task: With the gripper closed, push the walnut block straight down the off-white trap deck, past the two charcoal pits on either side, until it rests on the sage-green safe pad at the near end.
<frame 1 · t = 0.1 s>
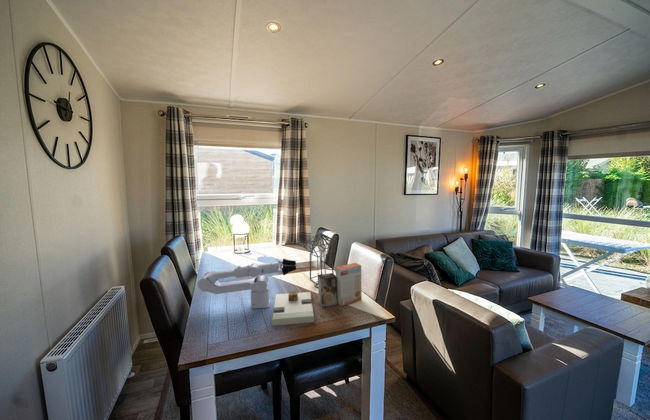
hand: (296, 265, 135), 22 cm above the table, tool horizontal, fingers open, 7 cm apart
trap deck: (293, 308, 131), on the table
coffee box: (327, 303, 136), on the table
cracker box: (348, 301, 138), on the table
geometric lantern: (321, 285, 159), on the table
walnut block: (293, 298, 137), point 2 cm above the table, touching trap deck
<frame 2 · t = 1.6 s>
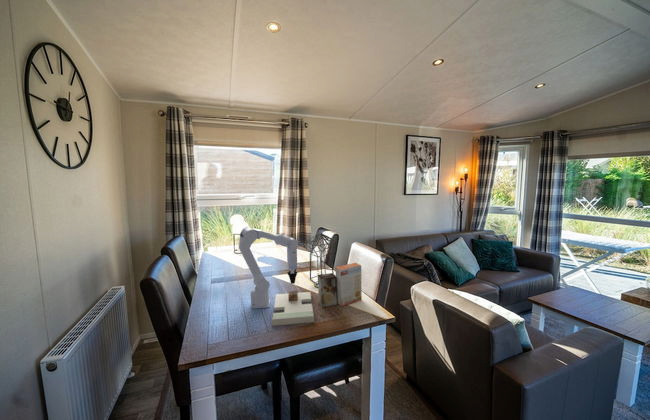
hand: (292, 280, 144), 9 cm above the table, tool pointing down, fingers open, 7 cm apart
nothing on the table moved.
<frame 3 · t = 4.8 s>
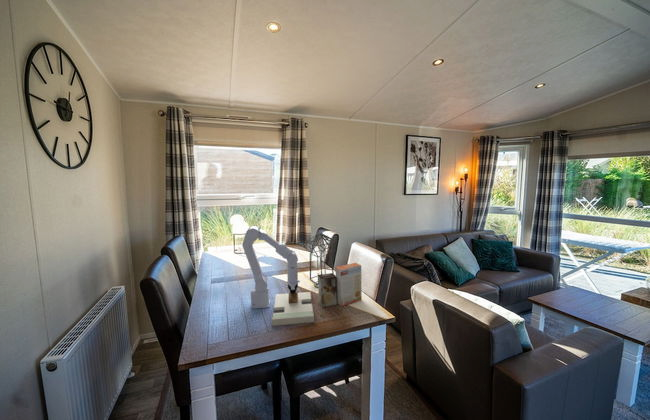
hand: (293, 296, 139), 3 cm above the table, tool pointing down, fingers closed
walnut block: (293, 300, 135), point 2 cm above the table, touching gripper, trap deck
everything else where it was.
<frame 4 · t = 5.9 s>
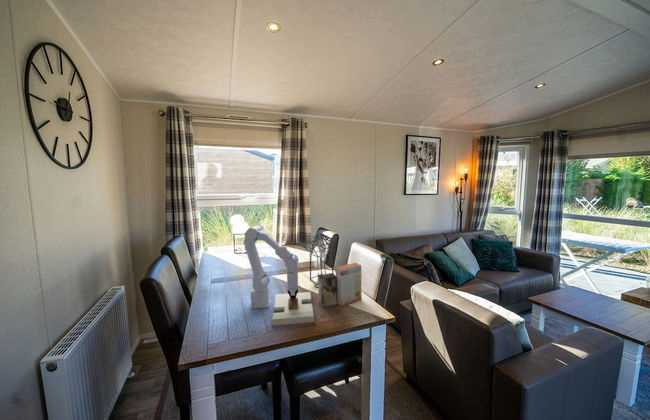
hand: (293, 301, 132), 3 cm above the table, tool pointing down, fingers closed
walnut block: (293, 306, 129), point 2 cm above the table, touching gripper, trap deck
everything else where it was.
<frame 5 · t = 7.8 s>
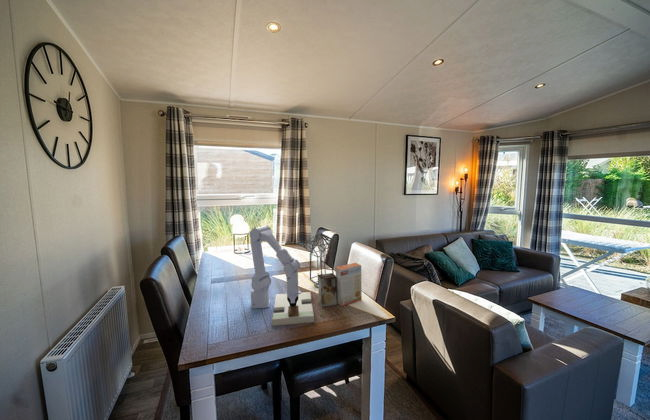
hand: (293, 309, 125), 3 cm above the table, tool pointing down, fingers closed
walnut block: (293, 315, 121), point 2 cm above the table, touching gripper, trap deck
everything else where it was.
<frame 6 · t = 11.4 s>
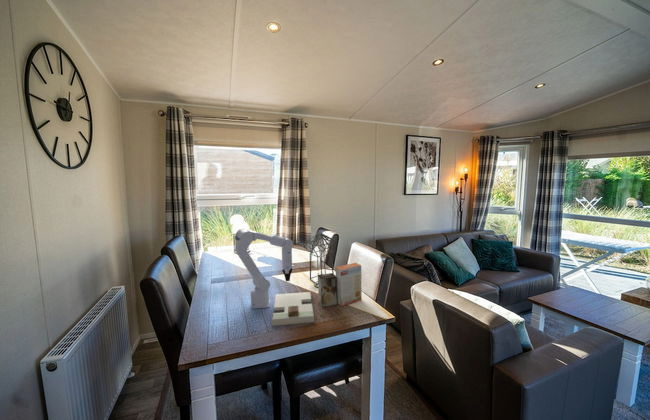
hand: (287, 280, 144), 9 cm above the table, tool pointing down, fingers closed
walnut block: (293, 315, 121), point 2 cm above the table, touching trap deck
everything else where it was.
at the end: walnut block inside the target area on the trap deck (0.2 cm from its centre), point 2.0 cm above the trap deck's base; walnut block tilted 0° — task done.
